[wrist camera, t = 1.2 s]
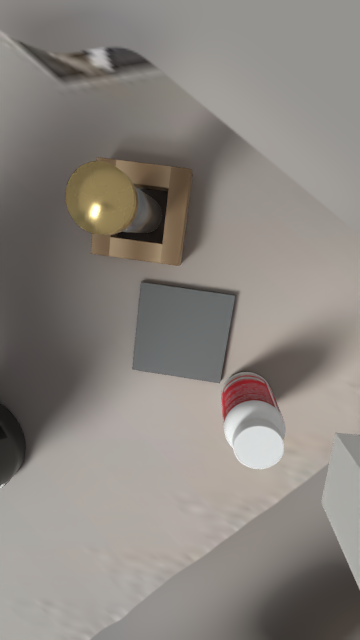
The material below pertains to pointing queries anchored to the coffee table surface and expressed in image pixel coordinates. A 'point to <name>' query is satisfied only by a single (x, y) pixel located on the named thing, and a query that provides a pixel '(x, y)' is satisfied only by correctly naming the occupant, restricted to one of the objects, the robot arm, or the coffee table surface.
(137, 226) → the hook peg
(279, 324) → the coffee table surface
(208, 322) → the rubber mat
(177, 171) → the block
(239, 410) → the pill bottle
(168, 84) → the coffee table surface
